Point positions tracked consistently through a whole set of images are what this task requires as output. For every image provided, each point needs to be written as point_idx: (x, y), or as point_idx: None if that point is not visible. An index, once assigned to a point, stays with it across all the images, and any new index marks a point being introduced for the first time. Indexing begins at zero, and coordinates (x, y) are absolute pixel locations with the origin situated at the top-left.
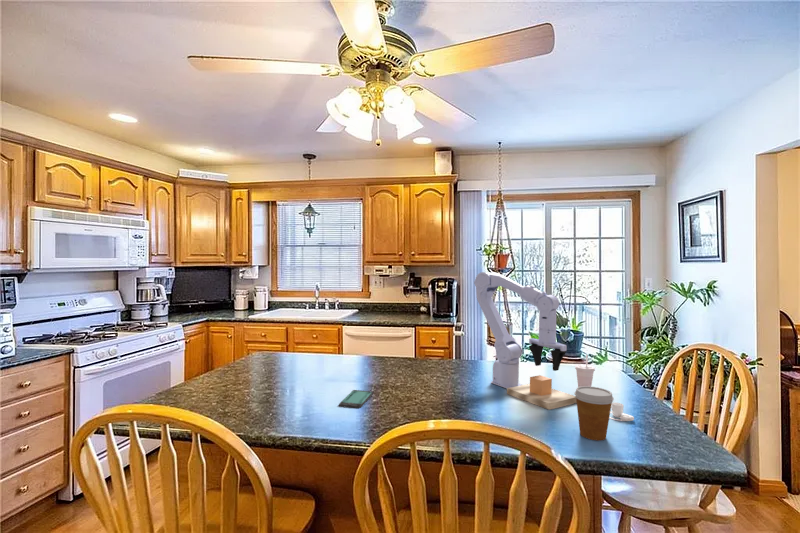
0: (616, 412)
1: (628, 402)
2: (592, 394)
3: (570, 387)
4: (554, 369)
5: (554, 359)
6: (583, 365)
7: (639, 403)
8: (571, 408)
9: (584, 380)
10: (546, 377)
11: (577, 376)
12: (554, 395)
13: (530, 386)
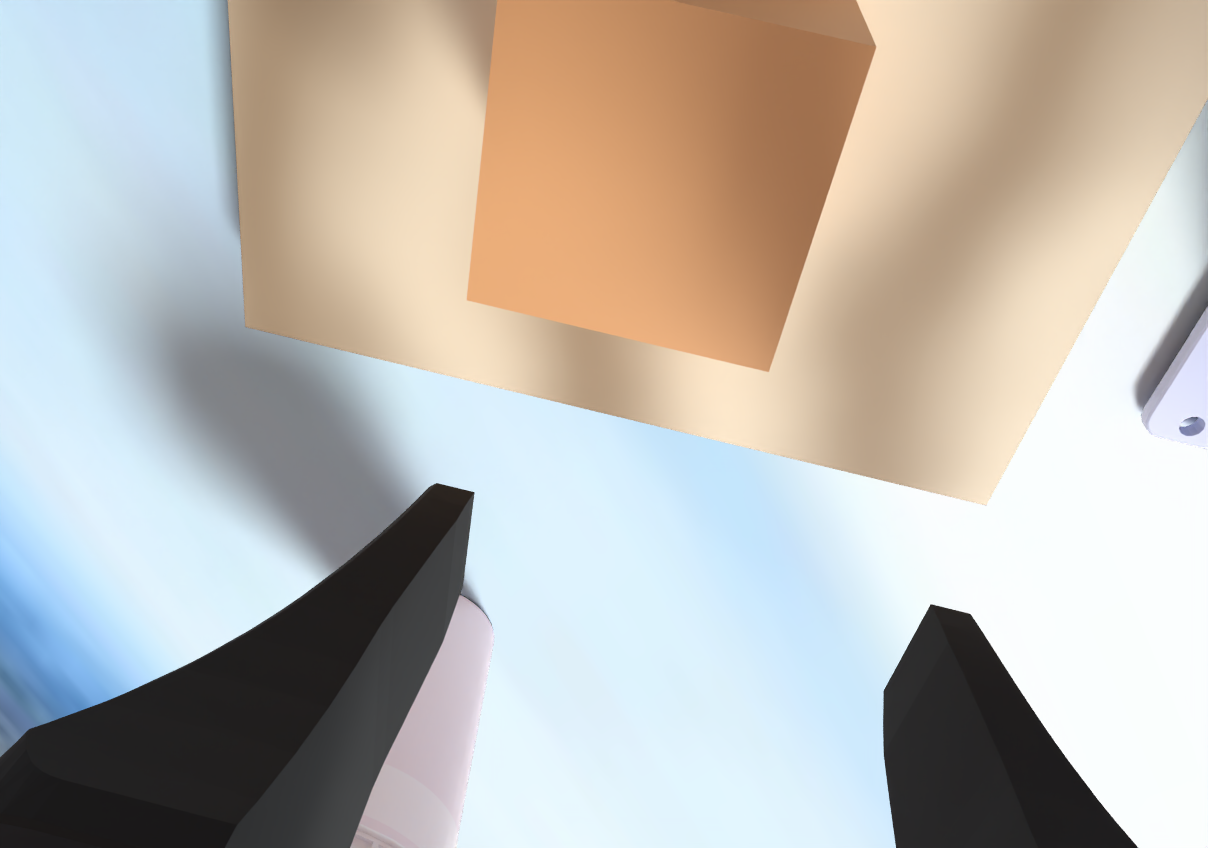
0: None
1: (83, 637)
2: None
3: (647, 728)
4: (422, 495)
5: (283, 640)
6: None
7: (32, 664)
8: (166, 2)
9: None
10: (588, 315)
11: (423, 759)
12: (447, 131)
13: (840, 3)
